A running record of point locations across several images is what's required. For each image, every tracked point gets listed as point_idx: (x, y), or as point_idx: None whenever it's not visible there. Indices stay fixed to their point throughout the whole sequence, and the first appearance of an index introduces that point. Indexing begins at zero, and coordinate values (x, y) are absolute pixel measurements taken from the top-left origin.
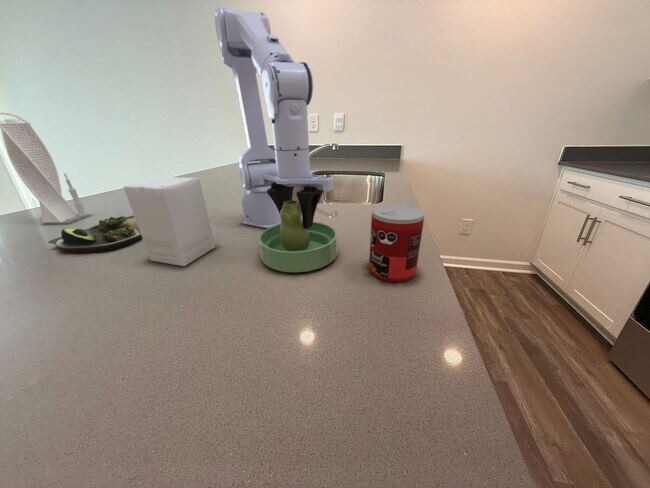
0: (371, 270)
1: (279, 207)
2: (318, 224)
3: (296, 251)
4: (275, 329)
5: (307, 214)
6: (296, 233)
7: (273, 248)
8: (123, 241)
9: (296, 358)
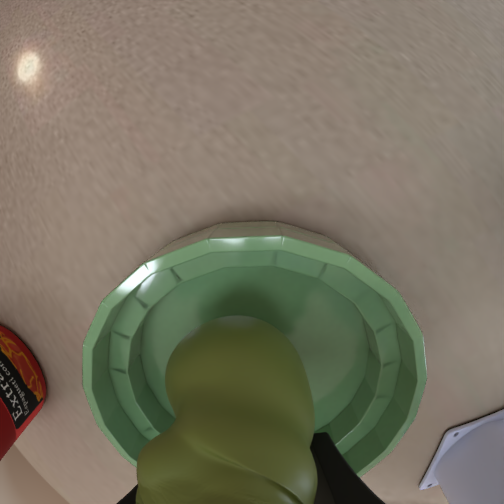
0: (16, 344)
1: (350, 501)
2: None
3: (137, 279)
4: (87, 33)
5: (136, 488)
6: (176, 376)
7: (368, 347)
8: None
9: (28, 26)
